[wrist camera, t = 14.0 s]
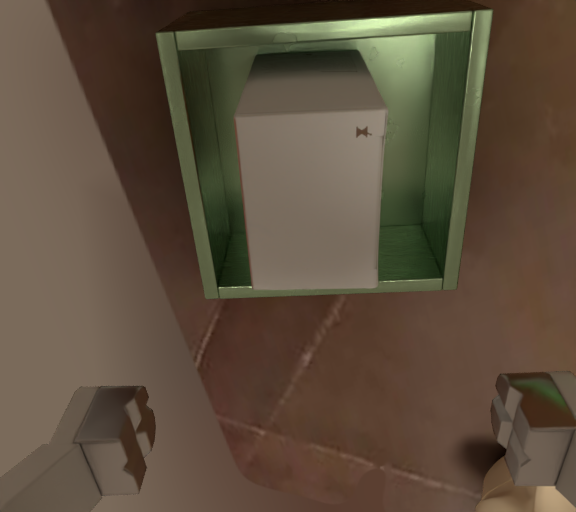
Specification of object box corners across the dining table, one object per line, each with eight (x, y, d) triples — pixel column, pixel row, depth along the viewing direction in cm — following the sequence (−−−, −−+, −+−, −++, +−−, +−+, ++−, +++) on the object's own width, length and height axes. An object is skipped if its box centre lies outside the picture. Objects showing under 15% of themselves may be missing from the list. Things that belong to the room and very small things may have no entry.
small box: (254, 52, 27) (229, 109, 18) (361, 48, 27) (390, 104, 18) (264, 192, 31) (248, 294, 22) (357, 189, 31) (378, 292, 22)
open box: (222, 236, 34) (205, 299, 28) (187, 11, 27) (154, 32, 21) (430, 227, 33) (457, 290, 27) (451, -8, 26) (494, 8, 20)
